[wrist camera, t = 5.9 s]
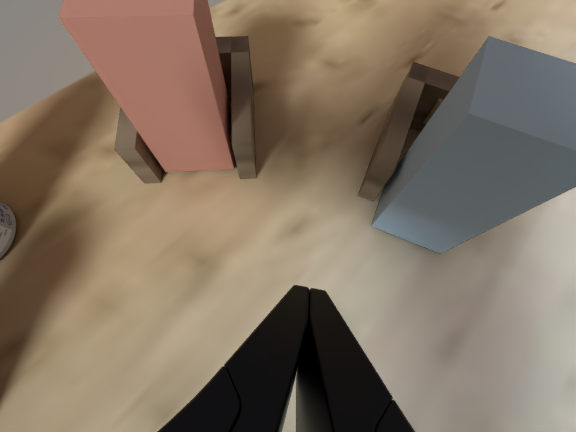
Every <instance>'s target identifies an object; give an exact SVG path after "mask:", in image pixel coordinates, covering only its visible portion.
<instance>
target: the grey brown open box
mask: <svg viewBox="0 0 576 432" xmlns="http://www.w3.org/2000/svg"><path fill="white" fill-rule="evenodd" d="M459 78H460V77H457V76H454V75H451V74H448V73H445V72H442V71H439V70H436V69H433V68H430V67H427V66H424V65H421V64H418V63H415V62H413V64H412V66H411V68H410V70H409V72H408V74H407V76H406V78H405V80H404V82H403V84H402V86H401V88H400V90H399V92H398V94H397V96H396V98H395V100H394V102H393V104H392V106H391V109H390V112H389V114H388V117H387V119H386V122H385V125H384V127H383V130H382V133H381V135H380V138H379V140H378V143H377V146H376V148H375V151H374V154H373V156H372V159H371V162H370V164H369V167H368V169H367V172H366V175H365V177H364V180H363V183H362V185H361V188H360V190H359V193H358V196H360V197H363V198H365V199H368V200H370V201H374V199H375V198H376V197H377V195H378V194H379V192H380V191H381V190H382V188H383V187H384V186H385V184H386V183H387V181H388V180H389V179H390V177H391V176H392V174H393V173H394V171H395V169H396V166H397V163H398V160H399V157H400V154H401V151H402V148H403V145H404V142H405V139H406V136H407V134H408V131H409V128H412V129H415V130H418V131H422V130H423V128H424V127H425V126H426V124H427V123H428V121H429V120H430V119H431V117H432V116H433V114H434V113H435V111H436V110H437V109H438V107H439V106H440V104H441V103H442V102H443V100H444V99H445V97H446V96H447V95H448V93H449V92H450V90H451V89H452V88H453V86H454V85H455V83H456V82H457V80H458V79H459Z"/></svg>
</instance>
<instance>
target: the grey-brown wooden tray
mask: <svg viewBox="0 0 576 432" xmlns="http://www.w3.org/2000/svg"><path fill="white" fill-rule="evenodd" d="M215 38H216V43H217V47H218V52H219V57H220V62H221V66H222V71H223V76H224V81H225V85H226V90H227V95H228V99H230V98H232V148H233V152H234V156H235V160H236V164H237V168H238V172H239V176H240V179H247V178H256V158H255V131H254V103H253V81H252V71H251V61H250V51H249V41H248V36H242V37H215ZM114 150H115V151H116V152H117V153H118V154H119V155H120V156H121V158H122V159H123V160H124V161H125V162H126V163H127V164H128V166H129V167H130V168H131V169H132V170H133V171H134V172H135V173H136V175H137V176H138V177H139V178H140V179H141V180H142V181H143V182H144V183H161V176H162V166H161V165H160V163H159V162H158V160H157V159H156V157H155V156H154V154H153V153H152V152H151V150H150V149H149V147H148V146H147V144H146V143H145V141H144V140H143V139H142V137H141V136H140V134H139V133H138V131H137V130H136V129H135V127H134V126H133V124H132V123H131V121H130V120H129V118H128V117H127V116H126V114H125V113H124V111H123V110H122V108H121V107H120V114H119V121H118V128H117V134H116V141H115V148H114Z"/></svg>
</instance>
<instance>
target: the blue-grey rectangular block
mask: <svg viewBox="0 0 576 432" xmlns="http://www.w3.org/2000/svg"><path fill="white" fill-rule="evenodd" d="M574 187H576V64H575V63H572V62H569V61H566V60H563V59H560V58H556V57H553V56H550V55H547V54H544V53H540V52H537V51H534V50H531V49H528V48H525V47H521V46H518V45H515V44H512V43H509V42H506V41H502V40H499V39H496V38H493V37H490V36H489V37H488V38H487V40H486V41H485V42H484V44H483V45H482V47H481V48H480V50H479V51H478V52H477V54H476V55H475V57H474V58H473V59H472V61H471V62H470V64H469V65H468V66H467V68H466V69H465V71H464V72H463V73H462V75H461V76H460V78H459V79H458V80H457V82H456V83H455V85H454V86H453V88H452V89H451V90H450V92H449V93H448V95H447V96H446V97H445V99H444V100H443V102H442V103H441V104H440V106H439V107H438V109H437V110H436V111H435V113H434V114H433V116H432V117H431V119H430V120H429V121H428V123H427V124H426V126H425V127H424V128H423V130H422V131H421V133H420V134H419V135H418V137H417V138H416V140H415V141H414V142H413V144H412V145H411V147H410V148H409V150H408V151H407V152H406V154H405V155H404V157H403V158H402V159H401V161H400V162H399V164H398V165H397V166H396V169H395V171H394V173H393V174H392V176H391V177H390V179H389V180H388V181H387V183H386V184H385V187H384V190H383V193H382V196H381V199H380V202H379V205H378V207H377V210H376V213H375V216H374V219H373V222H372V225H371V226H373V227H375V228H378V229H380V230H383V231H385V232H388V233H390V234H393V235H395V236H398V237H400V238H403V239H405V240H408V241H410V242H413V243H415V244H418V245H420V246H423V247H425V248H428V249H430V250H433V251H435V252H438V253H442V252H444V251H447V250H449V249H451V248H453V247H455V246H457V245H459V244H461V243H463V242H465V241H467V240H469V239H471V238H473V237H475V236H477V235H479V234H481V233H483V232H485V231H487V230H489V229H491V228H493V227H495V226H497V225H499V224H501V223H503V222H505V221H507V220H509V219H512V218H514V217H516V216H518V215H520V214H522V213H524V212H526V211H528V210H530V209H532V208H534V207H536V206H538V205H540V204H542V203H544V202H546V201H548V200H550V199H552V198H554V197H556V196H558V195H560V194H562V193H564V192H566V191H568V190H570V189H572V188H574Z"/></svg>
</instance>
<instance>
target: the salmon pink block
mask: <svg viewBox="0 0 576 432" xmlns="http://www.w3.org/2000/svg"><path fill="white" fill-rule="evenodd" d="M59 19H60V20H61V22H62V23H63V25H64V26H65V28H66V29H67V30H68V32H69V33H70V35H71V36H72V37H73V39H74V41H75V42H76V44H77V45H78V46H79V48H80V49H81V51H82V52H83V54H84V55H85V56H86V58H87V59H88V61H89V62H90V64H91V65H92V67H93V68H94V69H95V71H96V72H97V74H98V75H99V77H100V78H101V80H102V81H103V82H104V84H105V85H106V87H107V88H108V90H109V91H110V92H111V94H112V95H113V97H114V98H115V100H116V101H117V103H118V104H119V105H120V107H121V108H122V110H123V111H124V113H125V114H126V116H127V117H128V118H129V120H130V121H131V123H132V124H133V126H134V127H135V129H136V130H137V131H138V133H139V134H140V136H141V137H142V139H143V140H144V141H145V143H146V144H147V146H148V147H149V149H150V150H151V152H152V153H153V154H154V156H155V157H156V159H157V160H158V162H159V163H160V165H161V166H162V167H163V169H164V170H165V172H179V171H201V170H223V169H234V152H233V148H232V114H231V109H230V104H229V100H228V95H227V90H226V85H225V81H224V76H223V71H222V66H221V62H220V57H219V52H218V47H217V43H216V38H215V33H214V28H213V24H212V19H211V14H210V9H209V5H208V0H63V3H62V7H61V10H60V15H59Z"/></svg>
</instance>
